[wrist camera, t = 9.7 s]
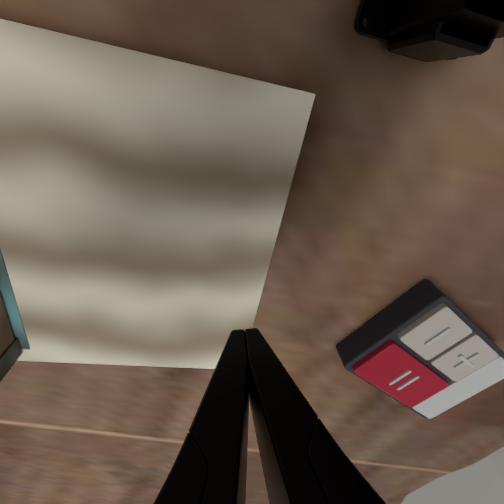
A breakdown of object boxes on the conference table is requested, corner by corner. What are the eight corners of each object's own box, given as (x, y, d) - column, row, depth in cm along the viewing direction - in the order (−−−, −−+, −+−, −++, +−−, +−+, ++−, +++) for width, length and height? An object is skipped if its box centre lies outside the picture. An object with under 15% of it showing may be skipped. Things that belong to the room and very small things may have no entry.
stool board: (-192, -24, 12) (-287, -51, 10) (303, 93, 16) (316, 93, 14) (-33, 332, 23) (-61, 358, 20) (239, 347, 27) (240, 370, 24)
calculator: (451, 300, 22) (527, 374, 27) (419, 271, 25) (491, 341, 31) (345, 374, 25) (430, 426, 30) (330, 339, 29) (409, 391, 34)
